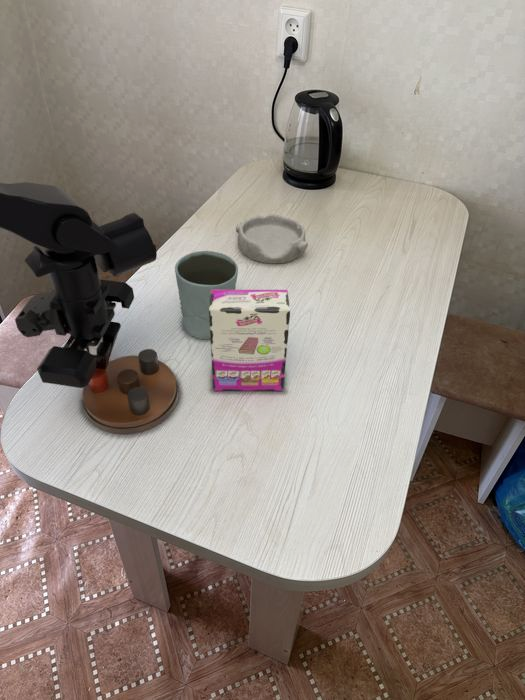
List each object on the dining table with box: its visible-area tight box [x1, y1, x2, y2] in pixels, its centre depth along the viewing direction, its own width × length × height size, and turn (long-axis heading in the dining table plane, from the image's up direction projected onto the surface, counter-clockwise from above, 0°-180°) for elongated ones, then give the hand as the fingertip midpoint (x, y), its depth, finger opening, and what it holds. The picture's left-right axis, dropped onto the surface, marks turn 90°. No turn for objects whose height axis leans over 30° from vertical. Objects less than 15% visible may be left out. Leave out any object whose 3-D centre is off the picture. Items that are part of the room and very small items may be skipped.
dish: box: [235, 213, 309, 264], centre depth 107 cm, size 14×14×5 cm
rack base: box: [82, 378, 179, 435], centre depth 76 cm, size 14×14×1 cm
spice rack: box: [82, 348, 177, 428], centre depth 74 cm, size 14×14×4 cm
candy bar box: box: [209, 289, 291, 392], centre depth 75 cm, size 11×5×16 cm, turn 92°
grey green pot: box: [174, 250, 239, 340], centre depth 86 cm, size 10×10×12 cm
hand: (102, 370), depth 75 cm, fingers closed, pressing on spice rack
